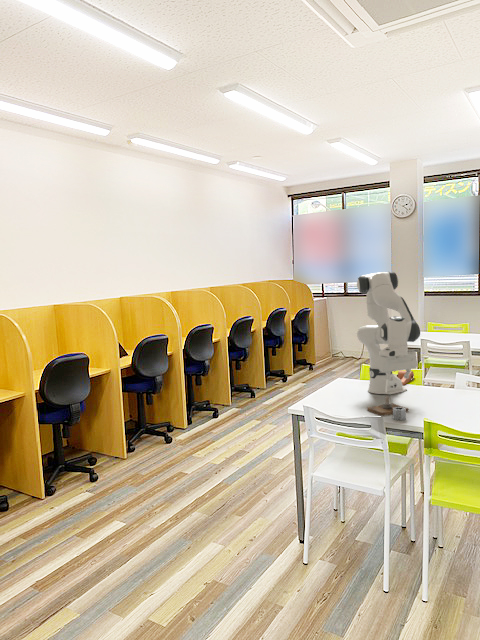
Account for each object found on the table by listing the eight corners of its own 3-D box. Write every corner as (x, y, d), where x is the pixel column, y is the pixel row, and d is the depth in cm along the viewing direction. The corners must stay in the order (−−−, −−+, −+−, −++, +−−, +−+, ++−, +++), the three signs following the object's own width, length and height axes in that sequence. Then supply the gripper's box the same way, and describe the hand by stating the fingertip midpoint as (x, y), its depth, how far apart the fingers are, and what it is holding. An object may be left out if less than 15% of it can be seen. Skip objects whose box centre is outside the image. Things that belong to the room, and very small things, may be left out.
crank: (401, 381, 315) (401, 369, 314) (414, 382, 310) (413, 370, 309) (390, 387, 299) (390, 374, 298) (403, 388, 294) (403, 376, 294)
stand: (392, 406, 256) (392, 392, 255) (408, 411, 245) (407, 396, 244) (367, 410, 250) (366, 396, 250) (382, 415, 239) (381, 400, 238)
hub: (400, 416, 237) (400, 406, 236) (408, 419, 231) (407, 409, 231) (390, 418, 235) (390, 408, 234) (398, 421, 229) (398, 410, 229)
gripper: (410, 348, 237) (411, 376, 238) (376, 352, 230) (376, 380, 231) (420, 349, 231) (420, 378, 232) (384, 353, 224) (385, 383, 225)
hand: (398, 379), depth 231 cm, fingers open, 8 cm apart
